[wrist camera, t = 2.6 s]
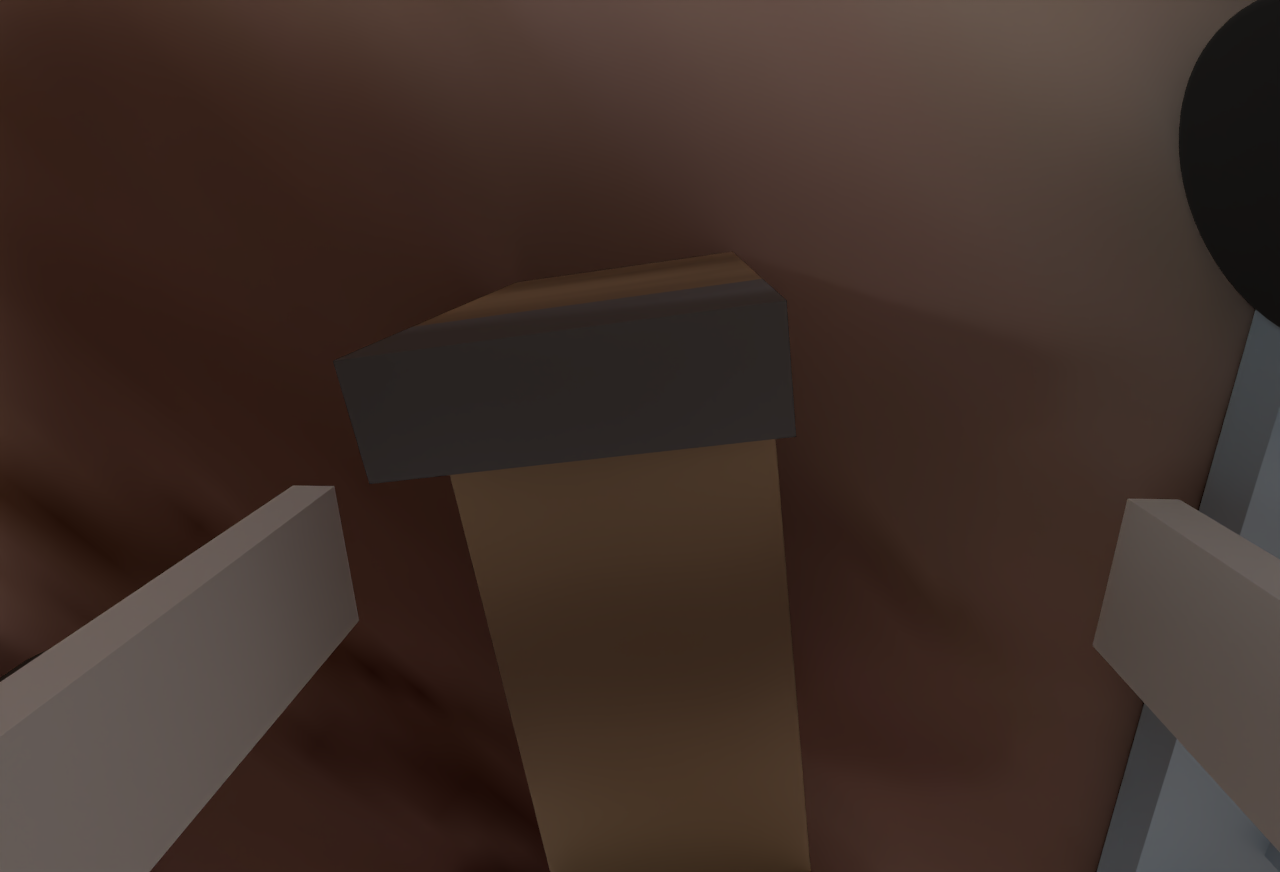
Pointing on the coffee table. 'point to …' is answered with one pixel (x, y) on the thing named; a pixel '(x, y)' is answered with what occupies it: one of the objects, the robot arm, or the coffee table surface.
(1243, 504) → the jig
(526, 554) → the brown blocky piece
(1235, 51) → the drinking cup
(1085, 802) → the coffee table surface
